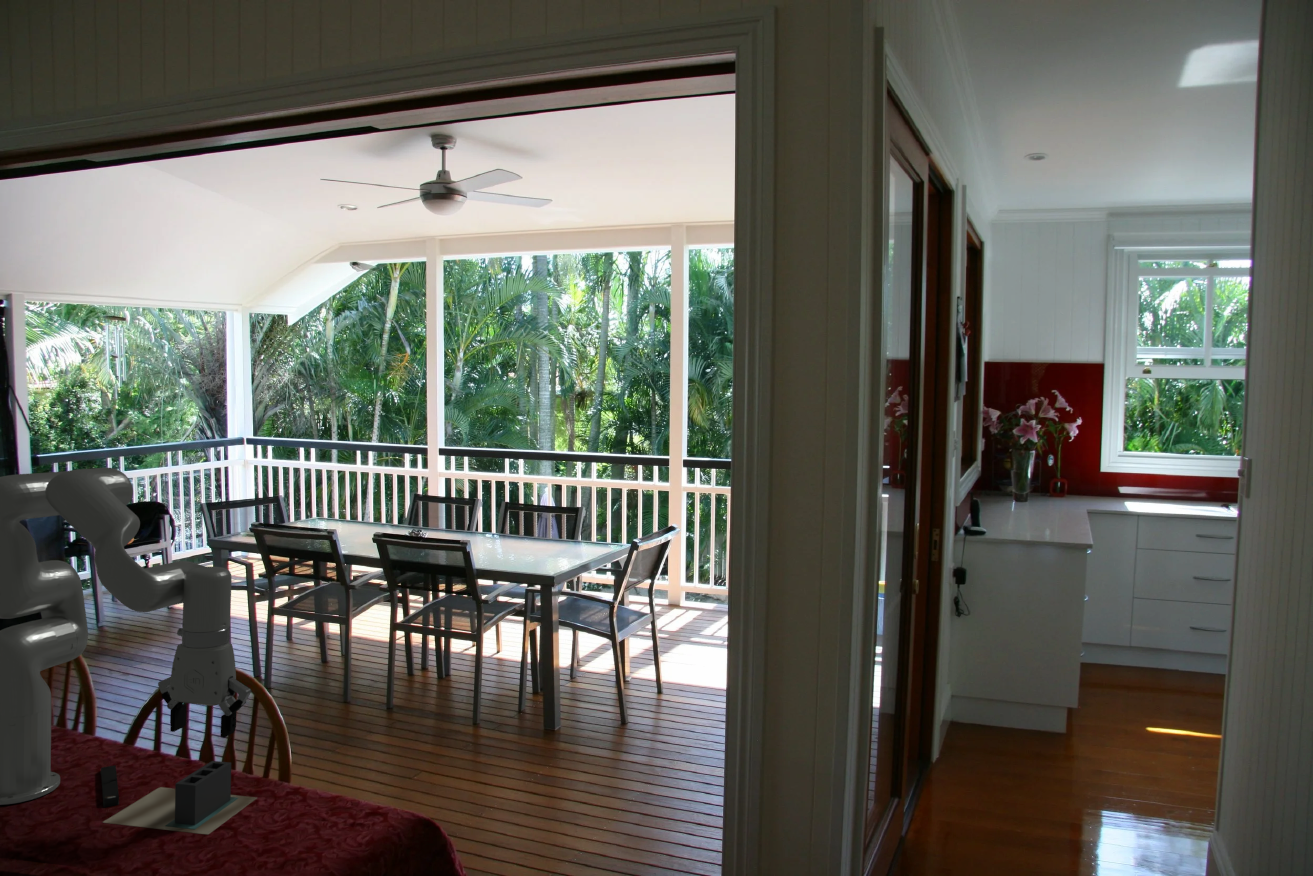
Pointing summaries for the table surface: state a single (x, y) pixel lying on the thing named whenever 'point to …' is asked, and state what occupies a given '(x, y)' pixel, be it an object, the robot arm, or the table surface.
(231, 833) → the table surface
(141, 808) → the pin board
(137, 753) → the table surface
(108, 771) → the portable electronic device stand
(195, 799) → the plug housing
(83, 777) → the table surface
